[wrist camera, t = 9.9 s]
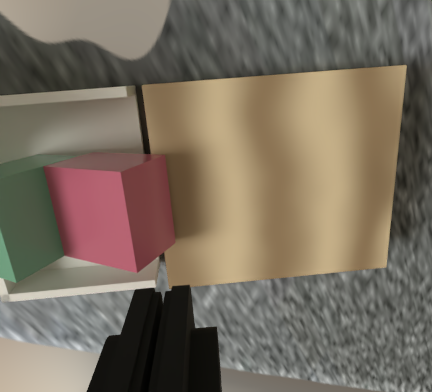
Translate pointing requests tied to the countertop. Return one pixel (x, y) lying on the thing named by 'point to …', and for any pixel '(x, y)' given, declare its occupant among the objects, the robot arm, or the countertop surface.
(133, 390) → the robot arm
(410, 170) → the countertop surface
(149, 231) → the pink toy cube
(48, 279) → the tray
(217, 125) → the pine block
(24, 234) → the green block
